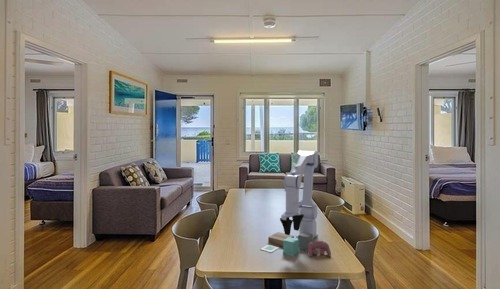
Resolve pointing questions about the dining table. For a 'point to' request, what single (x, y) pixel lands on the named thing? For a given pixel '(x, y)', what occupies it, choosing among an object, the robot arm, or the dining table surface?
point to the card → (269, 248)
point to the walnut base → (278, 238)
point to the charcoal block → (305, 240)
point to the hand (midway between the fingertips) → (291, 232)
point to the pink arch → (318, 244)
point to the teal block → (290, 246)
